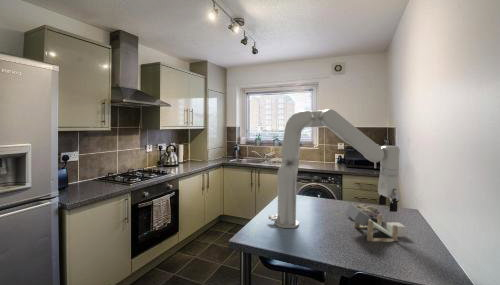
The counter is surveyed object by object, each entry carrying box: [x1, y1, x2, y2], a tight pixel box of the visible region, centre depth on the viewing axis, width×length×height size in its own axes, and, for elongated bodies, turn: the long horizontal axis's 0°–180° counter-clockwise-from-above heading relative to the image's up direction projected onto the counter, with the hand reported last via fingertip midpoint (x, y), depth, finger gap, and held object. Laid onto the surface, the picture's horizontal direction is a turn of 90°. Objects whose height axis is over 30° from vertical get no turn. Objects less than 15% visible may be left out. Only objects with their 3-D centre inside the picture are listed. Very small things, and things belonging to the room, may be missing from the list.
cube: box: [385, 221, 406, 238], centre depth 119 cm, size 5×5×6 cm
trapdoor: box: [344, 203, 392, 238], centre depth 119 cm, size 20×12×5 cm
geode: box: [346, 203, 381, 220], centre depth 141 cm, size 17×9×15 cm
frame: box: [354, 214, 399, 243], centre depth 119 cm, size 13×15×9 cm
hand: (387, 207), depth 119 cm, fingers open, 9 cm apart
